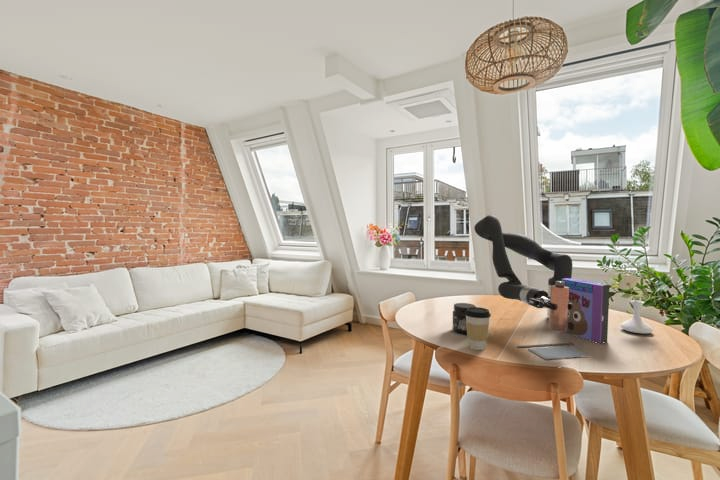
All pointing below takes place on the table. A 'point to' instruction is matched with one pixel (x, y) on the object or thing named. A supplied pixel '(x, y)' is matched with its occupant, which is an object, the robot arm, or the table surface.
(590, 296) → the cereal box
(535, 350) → the felt mat
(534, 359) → the table surface
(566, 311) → the water bottle
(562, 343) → the tape line
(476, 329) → the coffee cup
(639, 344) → the table surface
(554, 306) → the robot arm
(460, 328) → the supplement container
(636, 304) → the flower in vase
